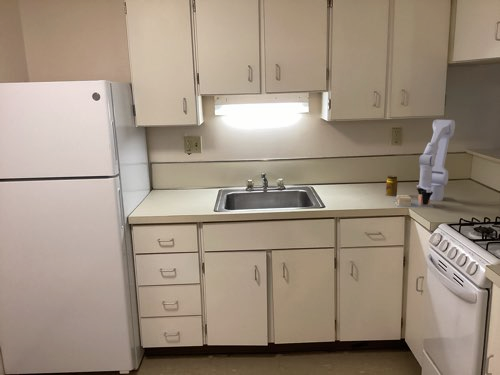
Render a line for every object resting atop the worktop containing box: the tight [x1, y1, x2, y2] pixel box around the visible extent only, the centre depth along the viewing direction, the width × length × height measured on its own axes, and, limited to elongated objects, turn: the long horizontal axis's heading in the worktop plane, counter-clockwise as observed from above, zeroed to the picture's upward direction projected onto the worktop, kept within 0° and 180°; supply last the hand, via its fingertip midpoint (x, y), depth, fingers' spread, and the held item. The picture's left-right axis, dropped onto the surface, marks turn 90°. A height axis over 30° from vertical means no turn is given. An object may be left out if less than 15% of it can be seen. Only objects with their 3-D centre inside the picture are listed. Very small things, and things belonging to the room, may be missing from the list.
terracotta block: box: [417, 193, 431, 206], centre depth 219 cm, size 4×4×5 cm
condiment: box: [385, 175, 399, 197], centre depth 241 cm, size 7×8×12 cm
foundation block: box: [395, 194, 412, 205], centre depth 222 cm, size 6×6×4 cm
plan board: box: [392, 200, 435, 208], centre depth 222 cm, size 12×18×1 cm, turn 84°
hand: (423, 203), depth 220 cm, fingers closed on terracotta block, 4 cm apart
